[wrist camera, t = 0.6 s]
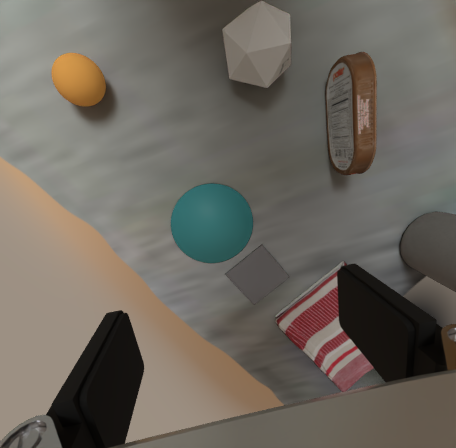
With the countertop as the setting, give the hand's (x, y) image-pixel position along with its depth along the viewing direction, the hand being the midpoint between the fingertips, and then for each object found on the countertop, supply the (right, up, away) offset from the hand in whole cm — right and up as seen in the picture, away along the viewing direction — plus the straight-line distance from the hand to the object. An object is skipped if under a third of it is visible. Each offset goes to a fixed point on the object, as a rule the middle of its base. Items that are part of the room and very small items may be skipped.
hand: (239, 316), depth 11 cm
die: (+3, +27, +23) cm, 35 cm away
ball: (-19, +21, +19) cm, 34 cm away
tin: (+15, +19, +27) cm, 36 cm away
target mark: (-3, +4, +28) cm, 29 cm away
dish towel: (+21, -16, +37) cm, 46 cm away
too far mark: (+5, -5, +31) cm, 32 cm away
